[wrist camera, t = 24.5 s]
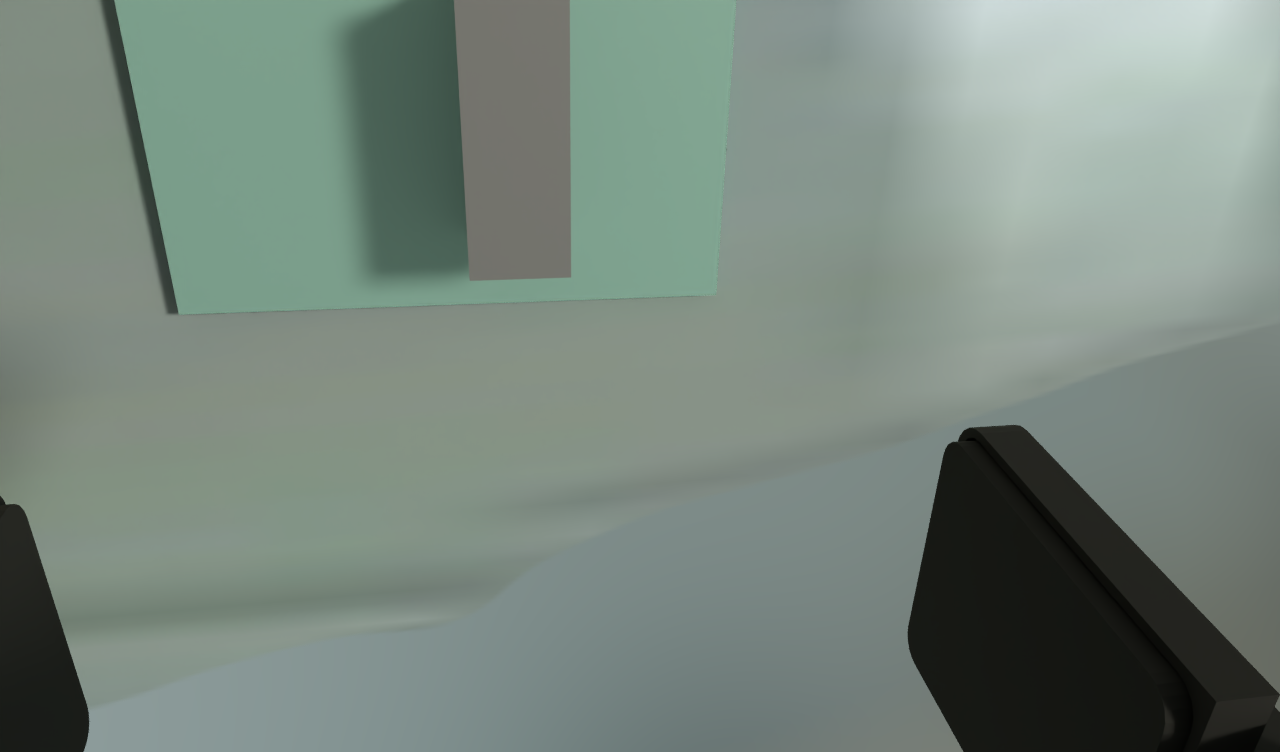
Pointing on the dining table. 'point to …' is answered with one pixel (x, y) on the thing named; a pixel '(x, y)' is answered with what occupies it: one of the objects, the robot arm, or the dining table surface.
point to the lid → (432, 148)
